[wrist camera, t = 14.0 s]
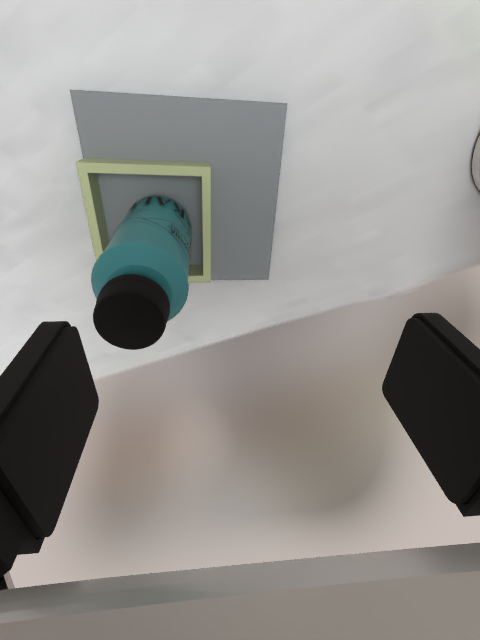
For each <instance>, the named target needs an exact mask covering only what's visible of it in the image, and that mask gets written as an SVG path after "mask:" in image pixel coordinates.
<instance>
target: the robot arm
mask: <svg viewBox="0 0 480 640" xmlns="http://www.w3.org/2000/svg"><path fill="white" fill-rule="evenodd" d="M472 173H473V178H474V182H475V185H476V186H477V188H478V189H479V191H480V135H479V138H478V140H477V143H476V146H475V150H474V153H473V161H472ZM382 391H383V394H384V396H385V398H386V400H387V401H388V403H389V405H390V406H391V408H392V410H393V411H394V413H395V414H396V416H397V418H398V419H399V421H400V422H401V424H402V426H403V427H404V429H405V430H406V432H407V434H408V435H409V437H410V439H411V440H412V442H413V443H414V445H415V447H416V448H417V450H418V451H419V453H420V455H421V456H422V458H423V459H424V461H425V463H426V464H427V466H428V468H429V469H430V471H431V472H432V474H433V476H434V477H435V479H436V481H437V482H438V484H439V485H440V487H441V489H442V490H443V492H444V493H445V495H446V496H447V498H448V499H449V500H450V501H451V502H452V503H455V504H456V505H457V507H458V509H459V510H460V512H461V513H462V515H463V516H464V517H465V516H478V515H480V349H479V348H478V347H476V346H475V345H474V344H473V343H472V342H471V341H470V340H469V339H467V338H466V337H465V336H464V335H463V334H462V333H461V332H459V331H458V330H457V329H456V328H455V327H454V326H453V325H451V324H450V323H449V322H448V321H447V320H446V319H445V318H443V317H442V316H441V315H440V314H438V313H417V314H414V315H413V316H412V318H410V319H408V320H407V322H406V324H405V327H404V329H403V332H402V335H401V338H400V340H399V343H398V345H397V348H396V350H395V353H394V356H393V358H392V361H391V364H390V366H389V369H388V371H387V374H386V377H385V379H384V382H383V385H382ZM98 403H99V400H98V395H97V391H96V388H95V385H94V381H93V378H92V375H91V371H90V368H89V365H88V362H87V358H86V355H85V352H84V348H83V345H82V342H81V339H80V335H79V332H78V330H77V328H76V327H74V326H73V327H71V325H70V324H69V323H68V322H67V321H56V322H42V323H41V324H40V325H39V326H38V328H37V329H36V330H35V332H34V333H33V334H32V336H31V337H30V338H29V339H28V341H27V342H26V343H25V345H24V346H23V347H22V349H21V350H20V351H19V352H18V354H17V355H16V356H15V358H14V359H13V360H12V362H11V363H10V364H9V365H8V367H7V368H6V369H5V371H4V372H3V373H2V375H1V376H0V640H480V543H471V544H459V545H448V546H437V547H426V548H414V549H402V550H392V551H381V552H370V553H359V554H348V555H338V556H328V557H316V558H305V559H295V560H284V561H274V562H263V563H252V564H242V565H232V566H222V567H212V568H201V569H191V570H181V571H171V572H162V573H150V574H140V575H130V576H120V577H110V578H100V579H91V580H83V581H75V582H66V583H58V584H49V585H41V586H32V587H23V588H14V585H13V582H12V579H11V576H10V573H9V570H11V568H12V566H13V563H14V561H15V558H16V556H17V555H20V554H32V553H39V551H40V549H41V546H42V543H43V540H44V538H45V537H49V536H50V535H51V534H52V533H53V531H54V529H55V526H56V524H57V521H58V518H59V515H60V513H61V510H62V507H63V504H64V502H65V498H66V496H67V493H68V490H69V488H70V485H71V482H72V479H73V476H74V473H75V471H76V468H77V465H78V463H79V460H80V457H81V454H82V451H83V449H84V446H85V443H86V440H87V437H88V435H89V432H90V429H91V426H92V424H93V421H94V418H95V415H96V413H97V409H98Z"/></svg>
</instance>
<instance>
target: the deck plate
mask: <svg viewBox="0 0 480 640" xmlns="http://www.w3.org/2000/svg"><path fill="white" fill-rule="evenodd" d="M70 93H71V98H72V104H73V109H74V114H75V119H76V124H77V129H78V134H79V139H80V144H81V149H82V154H83V159H82V160H80V161H77V162H76V167H77V171H78V176H79V181H80V186H81V190H82V195H83V200H84V205H85V210H86V214H87V219H88V224H89V229H90V233H91V238H92V243H93V248H94V253H95V257H96V261H97V259H98V258H99V256H100V255H101V254H102V253H103V252H104V250H105V249H106V247H107V246H108V244H109V243H110V241H111V240H112V238H113V237H114V235H115V233H116V231H117V229H118V228H119V226H120V225H121V224H122V220H123V221H124V219H125V218H126V216H127V215H128V214H127V212H128V211H129V210H130V209H131V207H132V206H133V205H134V203H136V202H138V201H140V200H141V199H143V197H144V198H145V197H146V196H152V194H154V195H158V194H160V195H161V196H164V195H165V197H168V198H170V199H172V198H173V200H174V201H176V202H177V201H178V202H177V203H178V204H180V205H181V206H182V207H183V208H184V209H186V210H185V212H186V213H187V215H188V214H189V215H188V217H189V221H190V220H191V221H190V222H191V223H190V225H191V224H192V225H191V226H192V230H191V234H192V235H190V239H191V240H190V242H191V241H192V243H191V246H190V249H191V251H190V256H192V257H190V258H189V262H190V263H189V269H190V270H189V275H188V283H193V282H211V280H268V278H269V268H270V259H271V250H272V240H273V231H274V222H275V212H276V203H277V194H278V185H279V175H280V166H281V157H282V147H283V138H284V129H285V119H286V110H287V103H272V102H256V101H241V100H225V99H209V98H193V97H177V96H162V95H146V94H130V93H114V92H98V91H83V90H70ZM130 211H131V210H130ZM130 211H129V212H130ZM129 212H128V213H129ZM124 217H125V218H124ZM118 224H120V225H118ZM117 227H118V228H117ZM115 230H116V231H115ZM191 237H192V238H191ZM190 265H191V266H190ZM190 274H191V275H190ZM189 277H190V278H189Z"/></svg>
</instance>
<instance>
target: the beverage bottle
mask: <svg viewBox="0 0 480 640" xmlns="http://www.w3.org/2000/svg"><path fill="white" fill-rule="evenodd" d="M177 202H178V201H177ZM177 202H176V201H174V200H173V198H172V199H170V198H168V197H165V195H164V196H161V195H160V194H158V195H154V194H152V196H146V197H145V198H144V197H143V199H141V200H140V201H138V202H136V203H134V205H133V206H132V207H131V209H130V210H131V211H130V210H129V211H130V212H129V211H128V212H129V213H128V212H127V214H128V215H127V216H126V218H125V217H124V218H125V219H124V221H123V220H122V224H121V225H120V224H118V225H120V226H119V228H118V227H117V228H118V229H117V231H116V230H115V231H116V233H115V235H114V237H113V238H112V240H111V241H110V243H109V244H108V246H107V247H106V249H105V250H104V252H103V253H102V254H101V255H100V256H99V258H98V259H97V261H96V263H95V264H94V267H93V270H92V277H91V282H92V288H93V292H94V294H95V297H96V298H97V301H96V306H95V309H94V313H93V321H94V325H95V328H96V330H97V332H98V333H99V334H100V336H101V337H102V338H103V339H105V340H106V341H107V342H109V343H110V344H112V345H114V346H117V347H120V348H123V349H131V350H135V349H142V348H146V347H148V346H151V345H152V344H154V343H155V342H157V341H158V340H159V338H160V337H161V336H162V334H163V332H164V330H165V327H166V323H167V321H169V320H170V319H172V318H173V317H175V316H176V315H177V314H178V313H179V312H180V310H181V309H182V308H183V306H184V304H185V302H186V300H187V296H188V289H189V286H188V275H189V270H190V269H189V263H190V262H189V258H190V257H192V256H190V251H191V249H190V246H191V243H192V241H191V242H190V240H191V239H190V235H192V234H191V230H192V226H191V225H192V224H191V225H190V223H191V222H190V221H191V220H190V221H189V217H188V215H189V214H188V215H187V213H186V212H185V210H186V209H184V208H183V207H182V206H181V205H180V204H178V203H177ZM191 238H192V237H191ZM190 266H191V265H190ZM190 275H191V274H190ZM189 278H190V277H189Z"/></svg>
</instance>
